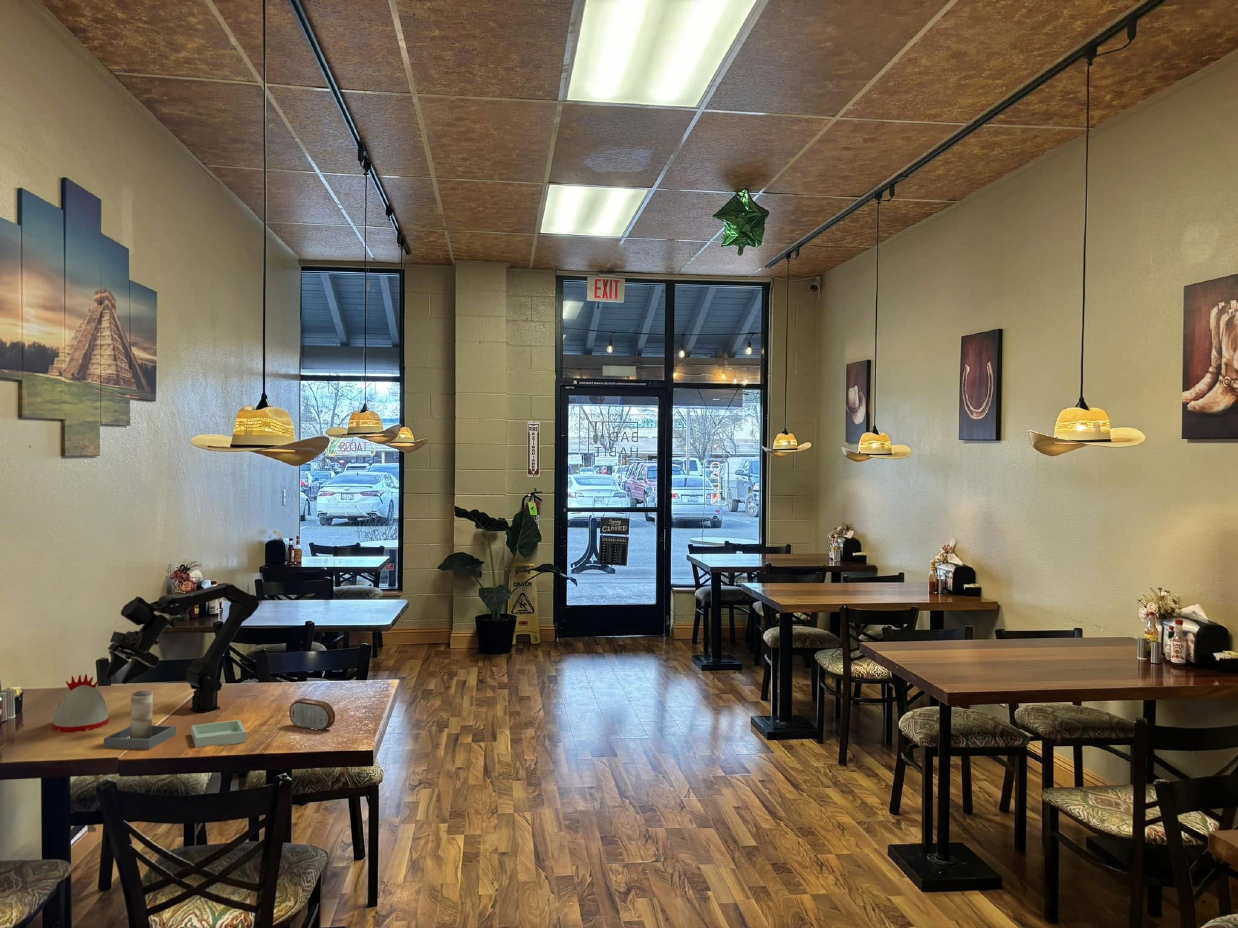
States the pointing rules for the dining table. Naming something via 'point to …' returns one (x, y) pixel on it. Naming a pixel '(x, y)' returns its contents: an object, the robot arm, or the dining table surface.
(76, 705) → the grey and red dome
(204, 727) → the sage bin
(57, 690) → the dining table surface
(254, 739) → the dining table surface
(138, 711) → the beige cylinder
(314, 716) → the tin
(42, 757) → the dining table surface
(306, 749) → the dining table surface
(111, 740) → the charcoal bin
